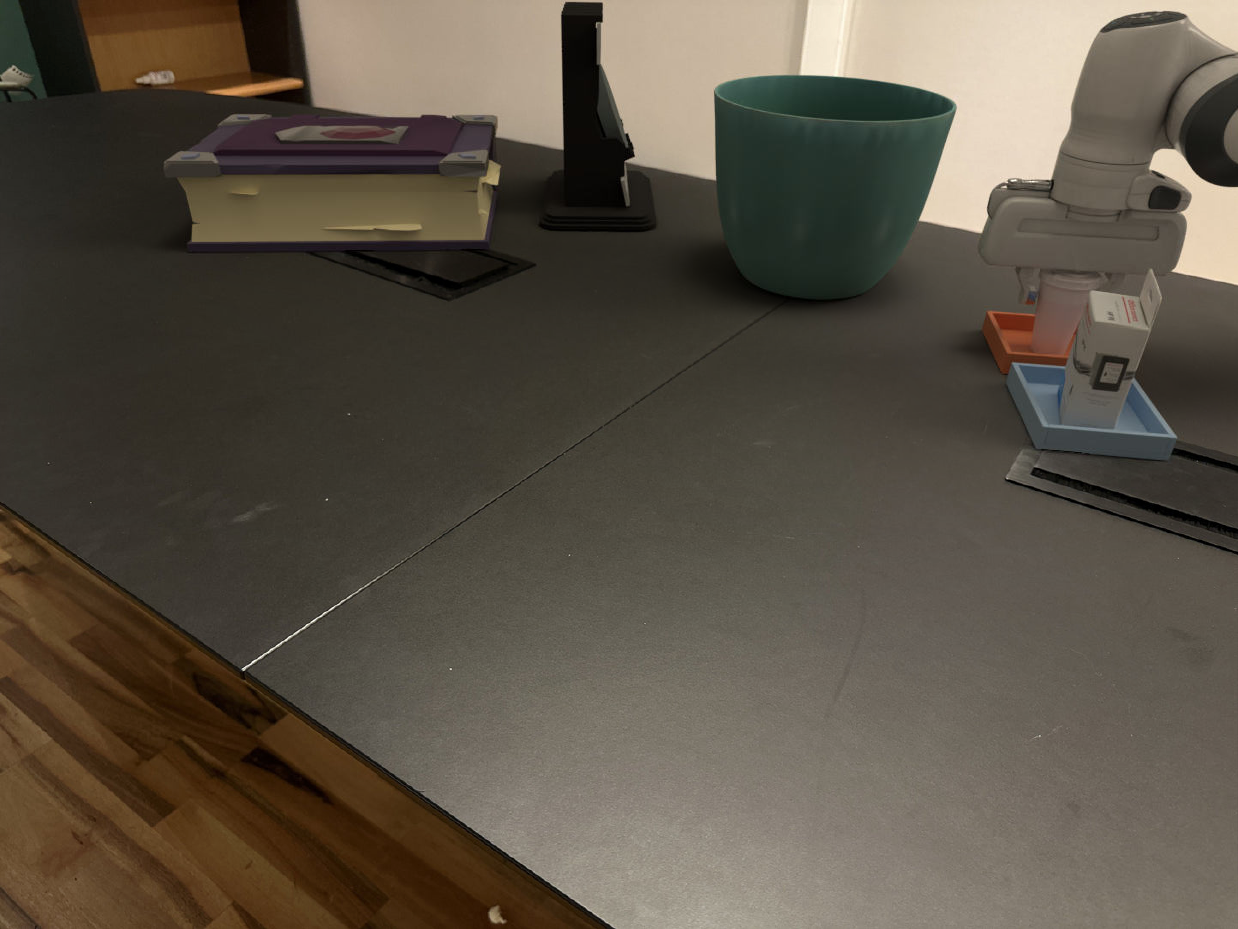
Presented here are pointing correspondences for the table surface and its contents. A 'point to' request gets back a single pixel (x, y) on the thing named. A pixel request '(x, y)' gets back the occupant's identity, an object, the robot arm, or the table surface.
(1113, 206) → the robot arm
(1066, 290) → the smoothie
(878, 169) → the flower pot
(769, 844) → the table surface
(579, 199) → the award
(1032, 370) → the blue tray
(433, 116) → the book
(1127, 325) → the ink box
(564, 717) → the table surface
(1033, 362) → the terracotta tray
